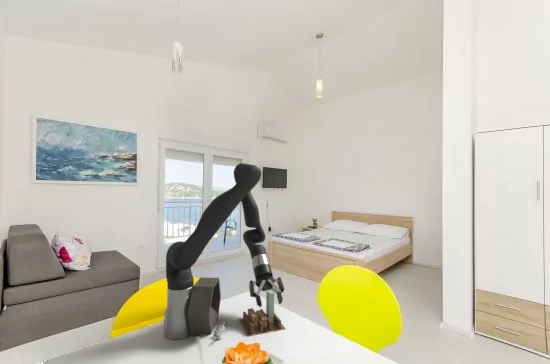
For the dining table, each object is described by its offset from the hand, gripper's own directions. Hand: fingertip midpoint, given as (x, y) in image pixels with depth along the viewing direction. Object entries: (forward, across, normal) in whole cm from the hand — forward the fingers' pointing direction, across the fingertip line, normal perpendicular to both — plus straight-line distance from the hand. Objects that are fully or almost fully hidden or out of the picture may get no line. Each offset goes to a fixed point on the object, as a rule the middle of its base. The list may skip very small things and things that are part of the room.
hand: (270, 304), depth 106 cm
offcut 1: (+5, -7, +5) cm, 10 cm away
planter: (+1, -24, +11) cm, 27 cm away
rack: (+5, -4, +6) cm, 9 cm away
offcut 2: (+5, -4, +5) cm, 8 cm away
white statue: (+8, -22, +4) cm, 23 cm away
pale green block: (+5, 0, +5) cm, 7 cm away
